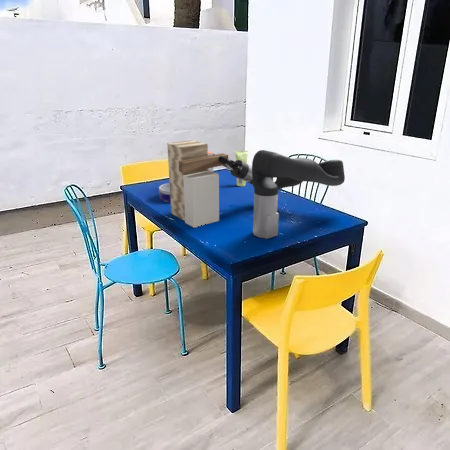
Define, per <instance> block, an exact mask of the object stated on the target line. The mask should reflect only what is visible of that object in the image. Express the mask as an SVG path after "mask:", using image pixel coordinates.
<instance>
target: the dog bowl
mask: <svg viewBox="0 0 450 450" xmlns="http://www.w3.org/2000/svg"><path fill="white" fill-rule="evenodd" d="M158 195H159V200H160V201H161V202H165V203H171V198H170V182H168V183H164V184H161V185H159V187H158Z"/></svg>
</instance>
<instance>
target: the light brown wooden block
mask: <svg viewBox="0 0 450 450" xmlns="http://www.w3.org/2000/svg"><path fill="white" fill-rule="evenodd" d="M219 156H222V157H224V158H226V159H229V154H226V153H217V154H215V155H211V156H205V157H199V158H194V159H188V160H183V161H178V163H179V171H180V172H183V173H187V172H192V171H197V170H202V169H207V168H212V167H213V168H216V167H221V166H222V165H225V164H224V163H222V162H220V161H218V159H219ZM222 167H223V166H222Z"/></svg>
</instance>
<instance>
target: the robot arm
mask: <svg viewBox="0 0 450 450" xmlns="http://www.w3.org/2000/svg"><path fill="white" fill-rule="evenodd" d="M213 155H216V154H215V153H213ZM218 161H220V162H222V163H224V164H225V165H222V167H225V168H226V169H227V170H229V171H230V175H231V176H233V177H234V178H236V179H237V178H239V179H241V180H243V181H246V182H245V183H248V184H250V185H252V187H253V195H254V196H253V217H252V218H253V221H252V225H253V226H252V235H253V236H256V237H257V238H261V239H267V240H268V239H270V238H274V237H278V235H279V223H280V222H279V221H280V219H279V218H280V213H279V212H278V205H279V203H278V201H279V190H281V189H285V188H290V187H291V188H292V187H296V186H298V185H300V184H302V183H304V182H308V183H309V182H310V183H317V184H320V185H325V186H330V187H338V186H341V185H342V184H344V183H345V180H346V177H345V169H344V168H345V167H344V161H342V160H340V159H331V160H330V159H329V160H326V161H323V162H319V163H318V162H316V160H313V159H310V158H306V157H296V158H291V157H288V156H285V155H283V154H281V153H277V152H275V151H274V152H273V151H270V150H265V149H260V150H258V151H257V152H255V154H254V156H253V158H252V163H251V165H250V164H248V163H245V162H243V161H241V160H236V159H235V160H232V159H229V158H228V159H226V158H224V157H222V156H219V159H218ZM274 179H275V181H274Z"/></svg>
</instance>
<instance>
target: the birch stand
mask: <svg viewBox="0 0 450 450" xmlns="http://www.w3.org/2000/svg"><path fill="white" fill-rule="evenodd" d="M166 145H167V159H168V160H167V161H168V162H167V163H168V177H169V178H168V180H169V183H170V198H171V202H170V212H171V214H172V215H173V216H175V217H177V218H178V219H180V220H182V221H184V222H185V206H184V183H183V175H188V174H193V173H198V172H204V171H208V168H207V169H202V170H197V171H192V172H187V173H183V172H180V171H179V163H178V161H183V160H188V159H194V158H199V157H205V156H208V151H209V148H208V146H209V145H208V143H205V142H201V141H197V140H193V139H190V140H182V141H175V142H168V143H167V144H166Z"/></svg>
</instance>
